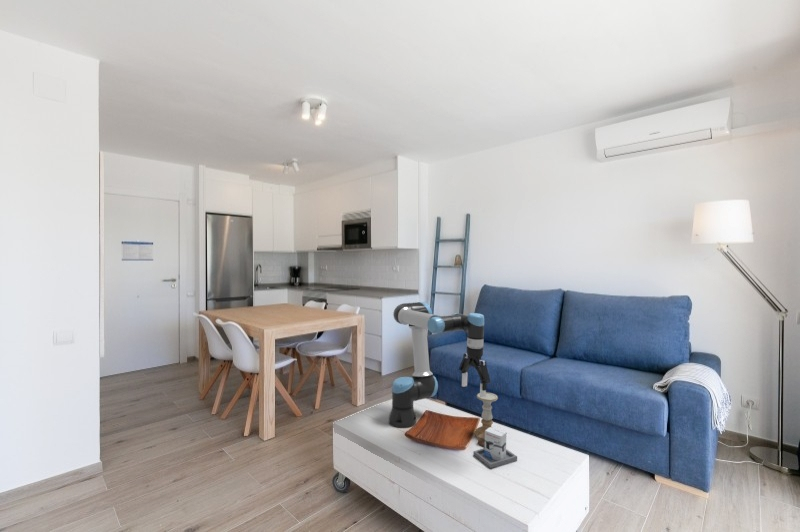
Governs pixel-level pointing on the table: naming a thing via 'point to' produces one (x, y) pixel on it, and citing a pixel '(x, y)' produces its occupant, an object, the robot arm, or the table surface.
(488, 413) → the candle holder
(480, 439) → the walnut block
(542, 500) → the table surface
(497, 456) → the ink box
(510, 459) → the tray
